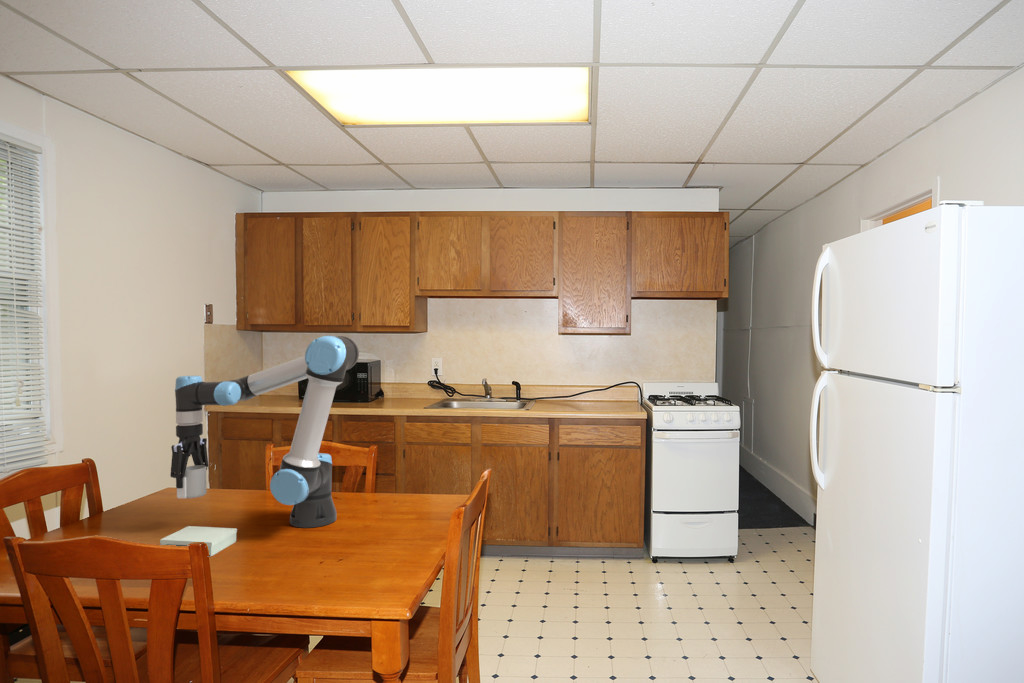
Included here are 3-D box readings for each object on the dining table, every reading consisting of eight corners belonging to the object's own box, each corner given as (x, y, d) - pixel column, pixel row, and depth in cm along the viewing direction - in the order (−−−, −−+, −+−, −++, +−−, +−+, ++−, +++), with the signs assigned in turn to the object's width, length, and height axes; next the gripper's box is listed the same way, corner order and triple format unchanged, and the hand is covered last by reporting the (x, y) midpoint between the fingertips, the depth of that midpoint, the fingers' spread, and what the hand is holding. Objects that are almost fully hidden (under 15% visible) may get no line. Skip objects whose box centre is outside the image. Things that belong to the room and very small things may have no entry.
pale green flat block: (236, 541, 174) (236, 528, 174) (211, 556, 162) (211, 542, 162) (188, 538, 176) (188, 526, 176) (160, 553, 164) (160, 539, 164)
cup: (185, 499, 178) (184, 471, 178) (174, 494, 185) (174, 467, 185) (210, 494, 183) (209, 467, 183) (198, 489, 190) (198, 463, 190)
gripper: (199, 419, 194) (200, 486, 194) (155, 428, 173) (156, 503, 174) (220, 419, 193) (221, 486, 193) (178, 428, 173) (179, 503, 173)
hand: (190, 494), depth 183 cm, fingers closed on cup, 7 cm apart
